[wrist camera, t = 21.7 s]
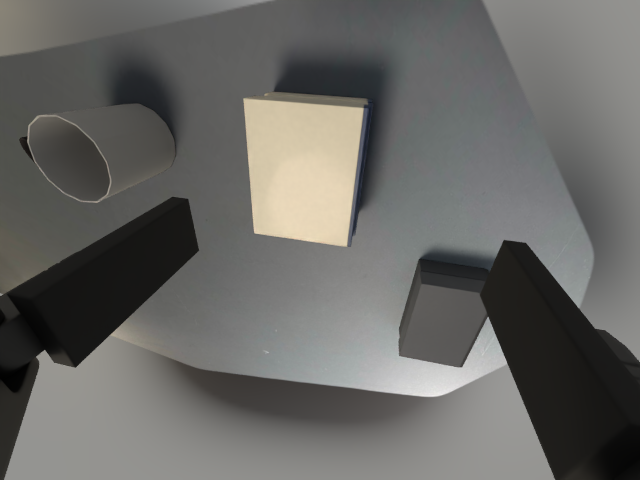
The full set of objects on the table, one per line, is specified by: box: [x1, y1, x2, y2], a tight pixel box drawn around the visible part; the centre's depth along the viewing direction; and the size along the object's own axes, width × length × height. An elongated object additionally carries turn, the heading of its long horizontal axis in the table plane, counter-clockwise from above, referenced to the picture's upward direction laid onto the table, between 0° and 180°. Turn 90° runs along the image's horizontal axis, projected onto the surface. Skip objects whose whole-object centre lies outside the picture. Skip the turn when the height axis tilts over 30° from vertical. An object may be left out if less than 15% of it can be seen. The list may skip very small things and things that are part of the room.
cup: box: [27, 103, 176, 202], centre depth 31 cm, size 8×8×10 cm
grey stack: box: [399, 259, 489, 367], centre depth 38 cm, size 9×13×5 cm, turn 177°
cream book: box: [244, 96, 370, 247], centre depth 27 cm, size 10×13×2 cm
